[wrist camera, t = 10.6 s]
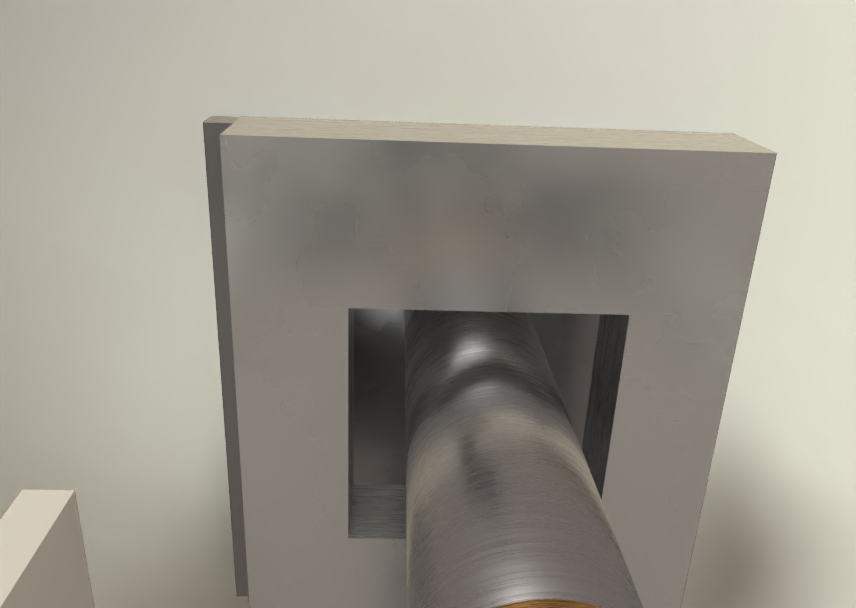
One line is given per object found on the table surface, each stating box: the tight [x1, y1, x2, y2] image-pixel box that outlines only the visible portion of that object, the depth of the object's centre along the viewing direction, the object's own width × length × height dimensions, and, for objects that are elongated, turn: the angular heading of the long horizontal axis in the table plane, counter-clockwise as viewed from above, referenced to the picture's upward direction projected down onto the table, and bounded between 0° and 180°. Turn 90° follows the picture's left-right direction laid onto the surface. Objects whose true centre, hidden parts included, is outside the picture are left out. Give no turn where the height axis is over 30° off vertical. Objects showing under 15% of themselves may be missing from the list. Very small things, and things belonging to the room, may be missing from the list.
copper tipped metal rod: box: [404, 310, 643, 608], centre depth 15 cm, size 3×3×16 cm
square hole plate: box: [203, 116, 777, 608], centre depth 17 cm, size 17×14×16 cm
